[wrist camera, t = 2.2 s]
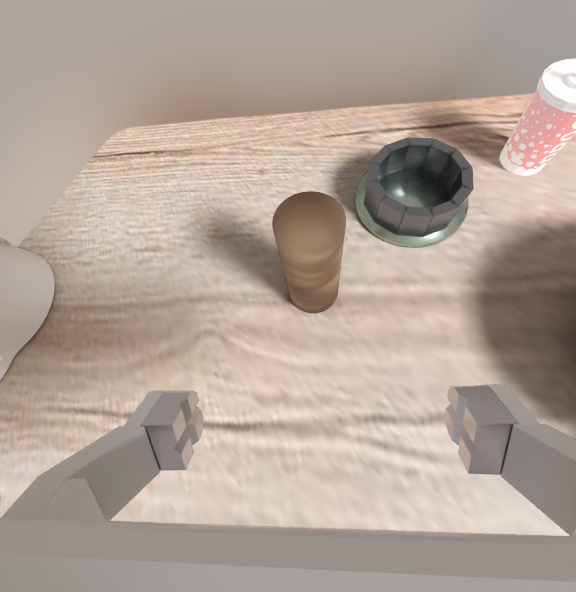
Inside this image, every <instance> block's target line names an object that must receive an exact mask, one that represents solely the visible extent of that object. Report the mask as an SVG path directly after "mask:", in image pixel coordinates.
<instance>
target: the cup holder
mask: <svg viewBox="0 0 576 592" xmlns="http://www.w3.org/2000/svg"><path fill="white" fill-rule="evenodd" d="M472 190H473V170H472V166H471V165H470V164H469V163H468V161H467V160H466V159H465V158H464V157H463V155H462V154H461V153H460V152H459V150H457V149H456V148H454V147H451V146H449V145H447V144H445V143H442V142H440V141H438V140H436V139H434V140H433V139H429V138H405V139H402V140H400V141H397V142H394V143H391V144H388V145H386V146H384V147H383V148H382V149H381V150H380V151H379V152H378V154H377V155H376V156H375V157H374V158H373V159H372V160H371V161H370V164H369V170H368V172H367V173H366V174H365V175H364V176H363V177H362V179H361V180H360V182H359V184H358V187H357V190H356V196H355V207H356V211H357V214H358V217H359V219H360V220H361V222H362V223H363V225H364V226H365V227H366V228H367V229H368V230H369V231H370V232H371V233H372V234H373V235H375V236H376V237H378V238H379V239H381V240H383V241H385V242H388V243H390V244H393V245H397V246H402V247H412V248H416V247H426V246H431V245H434V244H437V243H439V242H442V241H444V240H445V239H447V238H449V237H450V236H451V235H452V234H454V233H455V232H456V231H457V229H458V228H459V227H460V225H461V224H462V222H463V221H464V219H465V217H466V214H467V211H468V196H469V195H470V193H471V192H472Z"/></svg>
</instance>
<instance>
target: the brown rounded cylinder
mask: <svg viewBox="0 0 576 592" xmlns="http://www.w3.org/2000/svg"><path fill="white" fill-rule="evenodd" d="M272 226H273V231H274V235H275V239H276V243H277V247H278V251H279V255H280V259H281V263H282V267H283V271H284V275H285V278H286V282H287V286H288V290H289V294H290V298H291V300H292V302H293V304H294V305H295V306H296V307H297V308H298V309H300V310H302V311H304V312H307V313H319V312H323V311H325V310H327V309H328V308H329V307H331V306H332V305H333V303H334V302H335V300H336V298H337V294H338V286H339V278H340V269H341V260H342V252H343V243H344V235H345V226H346V216H345V212H344V210H343V208H342V206H341V205H340V204H339V203H338V202H337V201H336V200H335V199H334V198H332V197H331V196H329V195H327V194H324V193H320V192H302V193H298V194H295V195H293V196H291V197H289V198H287V199H286V200H284V201H283V202H282V203H281V204H280V205H279V207H278V208H277V210H276V211H275V213H274V216H273V222H272Z"/></svg>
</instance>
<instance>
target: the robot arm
mask: <svg viewBox="0 0 576 592" xmlns="http://www.w3.org/2000/svg"><path fill="white" fill-rule="evenodd" d="M54 290H55V282H54V275H53V272H52V269H51V267H50V265H49V264H48V263H47V261H46V260H45V259H44V258H43V257H41V256H40V255H38V254H36V253H34V252H31V251H28V250H24V249H21V248H18V247H15V246H12V245H11V244H10V243H9V242H7V241H6V240H4V239H2V238H0V380H1V379H2V377H3V376H4V374H5V373H6V371H7V369H8V367H9V366H10V364H11V362H12V360H13V358H14V356H15V355H16V354H17V353H18V351H19V350H20V349H21V348H22V347H23V346H24V345H25V344H26V343H27V342H28V341H29V340H30V339H31V338H32V337H33V336H34V334H35V333H36V332H37V331H38V329H39V328H40V326H41V325H42V323H43V322H44V320H45V318H46V316H47V314H48V312H49V310H50V307H51V304H52V301H53V297H54ZM447 397H448V399H449V400H450V402H451V404H450V405H449V406H448V407H447V408H446V414H445V419H446V426H447V430H448V433H449V435H450V437H451V439H452V441H454V442H455V443H456V444H458V445H459V451H458V454H459V456H460V458H461V460H462V462H463V464H464V466H465V468H466V470H467V472H468V473H469V474H494V475H501V477H502V478H504V479H505V480H506V481H507V482H508V483H509V484H511V485H512V486H513V487H514V488H515V489H516V490H518V491H519V492H520V493H521V494H522V495H523V496H525V497H526V498H527V499H528V500H529V501H530V502H532V503H533V504H534V505H535V506H536V507H537V508H538V509H540V510H541V511H542V512H543V513H544V514H545V515H547V516H548V517H549V518H550V519H551V520H552V521H554V522H555V523H556V524H557V525H558V526H559V527H561V528H562V529H563V530H564V531H565V532H566V533H568V534H569V535H570V536H544V535H514V534H485V533H455V532H424V531H394V530H363V529H333V528H304V527H274V526H244V525H214V524H184V523H154V522H124V521H110V520H111V519H112V518H113V517H114V516H115V515H116V514H117V513H118V512H119V511H120V510H121V509H122V508H123V507H124V506H125V505H126V504H127V503H128V502H129V501H130V500H131V499H133V498H134V497H135V496H136V495H137V494H138V493H139V492H140V491H141V490H142V489H143V488H144V487H145V486H146V485H147V484H148V483H149V482H150V481H151V480H152V479H153V478H154V477H155V476H156V475H157V474H158V473H160V470H186V469H187V466H188V464H189V462H190V459H191V457H192V455H193V453H194V450H193V447H192V445H194V444H195V443H196V442H197V441H198V440H199V439H200V436H201V434H202V429H203V414H202V411H201V410H200V409H199V408H198V407H197V406H196V405H197V403H198V401H199V399H198V395H197V392H195V391H151V392H149V393H148V394H147V396H146V397H145V399H144V400H143V401H142V403H141V404H140V405H139V407H138V408H137V409H136V411H135V412H134V413H133V415H132V416H131V417H130V419H129V420H128V421H127V423H126V424H125V425H124V426H119V427H117V428H116V429H114V430H113V431H111V432H109V433H108V434H106V435H104V436H103V437H101V438H100V439H98V440H96V441H95V442H93V443H92V444H90V445H88V446H87V447H85V448H83V449H82V450H80V451H79V452H77V453H75V454H74V455H72V456H70V457H69V458H67V459H66V460H64V461H62V462H61V463H59V464H57V465H56V466H54V467H53V468H51V469H49V470H48V471H46V472H44V473H43V474H41V475H40V476H38V477H37V478H36V479H35V480H34V482H33V483H32V484H31V485H30V486H29V487H28V488H27V489H26V490H25V492H24V493H23V494H22V495H21V496H20V497H19V498H18V499H17V500H16V502H15V503H14V504H13V505H12V506H11V507H10V508H9V509H8V510H7V512H6V513H5V514H4V515H3V516H2V517H0V592H576V440H575V439H573V438H571V437H570V436H568V435H566V434H564V433H562V432H560V431H558V430H556V429H554V428H552V427H551V426H549V425H547V424H540V423H539V422H538V421H537V420H536V419H535V417H534V416H533V415H532V414H531V413H530V412H529V410H528V409H527V408H526V407H525V406H524V405H523V404H522V402H521V401H520V400H519V399H518V398H517V397H516V396H515V394H514V393H513V392H512V391H511V390H510V389H509V388H508V386H506V385H504V384H493V385H475V386H450V388H449V390H448V396H447Z"/></svg>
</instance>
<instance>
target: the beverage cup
mask: <svg viewBox="0 0 576 592" xmlns="http://www.w3.org/2000/svg"><path fill="white" fill-rule="evenodd" d="M575 134H576V59H566V60H562V61H559V62H556V63H553V64H552V65H550V66H549V67H548V68H547V69H546V70H545V71H544V72H543V74H542V77H541V78H540V79H539V83H538V86H537V90H536V92H535V94H534V95H533V97H532V99H531V101H530V102H529V104H528V106H527V108H526V109H525V111H524V113H523V115H522V116H521V118H520V120H519V122H518V123H517V125H516V127H515V129H514V130H513V132H512V134H511V136H510V137H509V139H508V141H507V143H506V145H505V146H504V148H503V150H502V152H501V154H500V157H499V158H500V162H501V164H502V166H503V167H504V168H505V169H506V170H508V171H509V172H511V173H513V174H517V175H521V176H522V175H532V174H535V173H537V172H538V171H539V170H541V169H542V168H543V167H544V166H545V165H546V164H547V162H548V161H549V160H550V159H551V158H552V157H553V156H554V155H555V154H556V153H557V152H558V151H559V150H560V149H561V148H562V147H563V146H564V145H565V144H566V143H567V142H568V141H569V140H570V139H571V138H572V137H573V136H574V135H575Z"/></svg>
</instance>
